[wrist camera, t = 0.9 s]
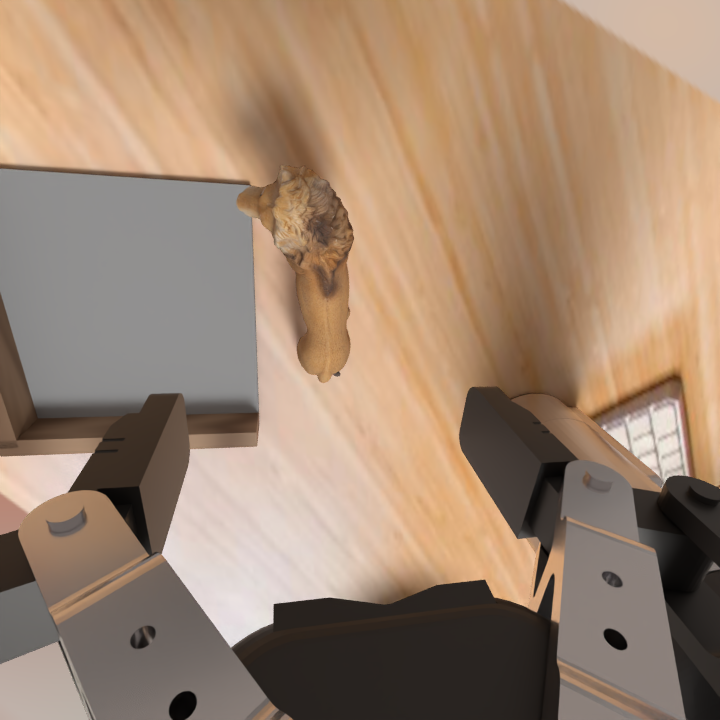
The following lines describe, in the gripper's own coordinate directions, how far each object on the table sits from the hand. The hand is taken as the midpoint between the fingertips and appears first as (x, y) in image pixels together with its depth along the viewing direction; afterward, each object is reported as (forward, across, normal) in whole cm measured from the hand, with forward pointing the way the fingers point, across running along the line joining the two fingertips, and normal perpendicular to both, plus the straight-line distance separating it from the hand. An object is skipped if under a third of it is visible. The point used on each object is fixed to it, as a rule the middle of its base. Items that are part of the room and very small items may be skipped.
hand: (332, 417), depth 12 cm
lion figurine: (+18, 0, 0) cm, 19 cm away
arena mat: (+18, +11, +3) cm, 21 cm away
